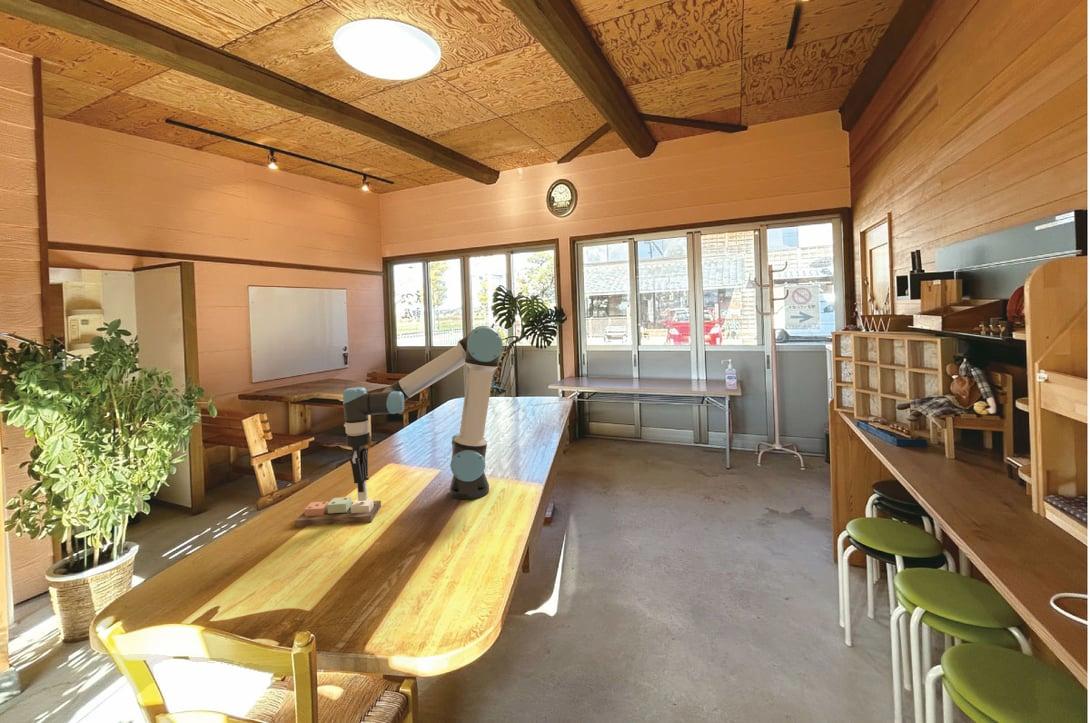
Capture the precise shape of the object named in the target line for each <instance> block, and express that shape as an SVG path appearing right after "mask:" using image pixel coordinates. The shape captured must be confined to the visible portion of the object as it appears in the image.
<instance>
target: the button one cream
mask: <svg viewBox="0 0 1090 723" xmlns="http://www.w3.org/2000/svg"><path fill="white" fill-rule="evenodd" d="M374 501H375V500H374V498H368V499H367V500H366V501H358V499H355V501H353V502H354V503H353V504H352V505H351V507H350V508H351V513H367V512H371V510H372V509H373V507H374Z"/></svg>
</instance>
